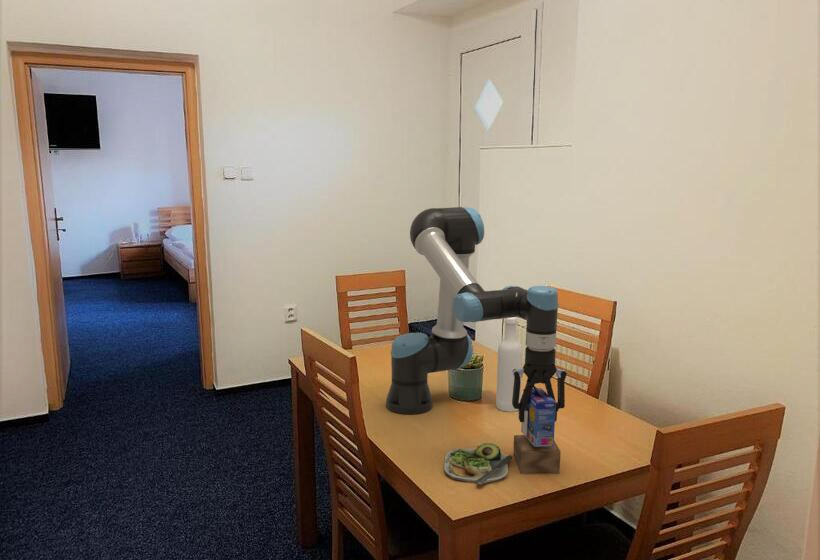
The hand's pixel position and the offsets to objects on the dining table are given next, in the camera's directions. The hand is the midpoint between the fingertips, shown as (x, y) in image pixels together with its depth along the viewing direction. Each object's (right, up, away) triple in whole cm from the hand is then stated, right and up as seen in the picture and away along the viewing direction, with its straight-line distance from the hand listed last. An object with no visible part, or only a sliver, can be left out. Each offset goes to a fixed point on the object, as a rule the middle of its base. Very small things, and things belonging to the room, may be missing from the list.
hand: (536, 432), depth 167 cm
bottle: (-1, -2, +41) cm, 41 cm away
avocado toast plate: (-15, -9, 0) cm, 18 cm away
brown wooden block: (0, -9, +2) cm, 9 cm away
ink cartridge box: (0, -2, 0) cm, 2 cm away
